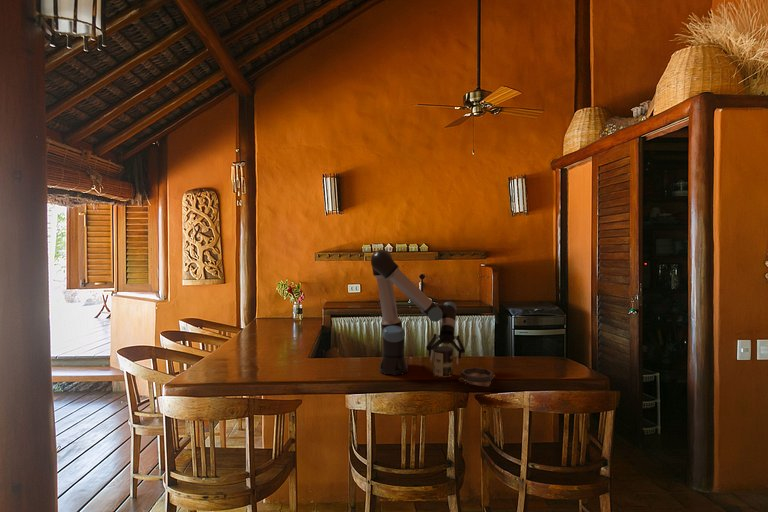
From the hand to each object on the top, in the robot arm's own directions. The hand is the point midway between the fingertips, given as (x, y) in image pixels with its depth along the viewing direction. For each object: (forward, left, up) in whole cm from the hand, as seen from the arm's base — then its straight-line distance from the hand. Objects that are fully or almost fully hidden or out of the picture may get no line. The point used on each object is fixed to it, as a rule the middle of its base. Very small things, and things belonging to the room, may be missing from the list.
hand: (444, 362), depth 247 cm
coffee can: (-1, +1, -7) cm, 7 cm away
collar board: (+17, +1, -7) cm, 19 cm away
